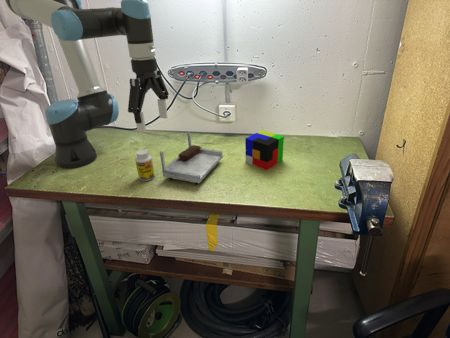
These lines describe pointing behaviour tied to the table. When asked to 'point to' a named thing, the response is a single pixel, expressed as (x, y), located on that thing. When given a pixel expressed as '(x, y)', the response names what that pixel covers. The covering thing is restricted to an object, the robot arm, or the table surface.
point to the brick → (189, 153)
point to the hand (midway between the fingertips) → (153, 124)
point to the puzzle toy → (264, 149)
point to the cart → (191, 165)
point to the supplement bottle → (144, 165)
